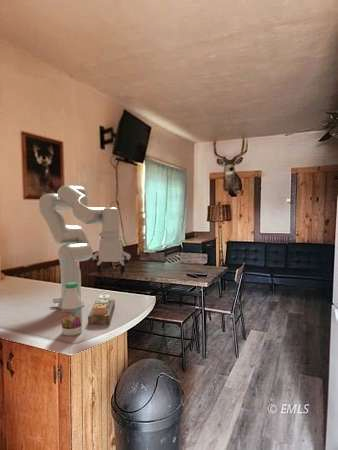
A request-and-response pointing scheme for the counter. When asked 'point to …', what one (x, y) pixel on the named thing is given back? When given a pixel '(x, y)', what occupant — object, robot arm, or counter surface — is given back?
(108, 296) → the button one
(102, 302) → the button two
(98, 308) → the button three
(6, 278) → the counter surface
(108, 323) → the button board
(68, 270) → the robot arm
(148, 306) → the counter surface
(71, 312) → the milk bottle
